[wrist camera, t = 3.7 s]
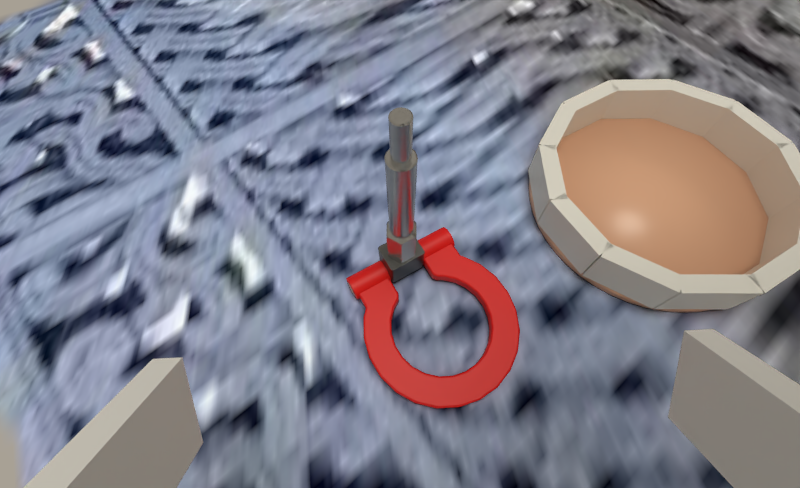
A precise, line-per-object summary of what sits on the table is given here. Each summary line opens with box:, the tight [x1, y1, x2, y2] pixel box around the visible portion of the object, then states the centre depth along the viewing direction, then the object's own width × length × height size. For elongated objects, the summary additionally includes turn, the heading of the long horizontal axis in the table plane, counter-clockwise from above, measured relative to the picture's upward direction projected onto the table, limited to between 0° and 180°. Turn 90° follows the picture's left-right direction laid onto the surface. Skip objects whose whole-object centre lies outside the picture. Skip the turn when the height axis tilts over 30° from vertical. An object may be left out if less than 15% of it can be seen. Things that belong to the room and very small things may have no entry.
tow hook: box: [346, 108, 520, 408], centre depth 17 cm, size 8×13×9 cm
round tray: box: [528, 79, 800, 313], centre depth 24 cm, size 15×15×3 cm
